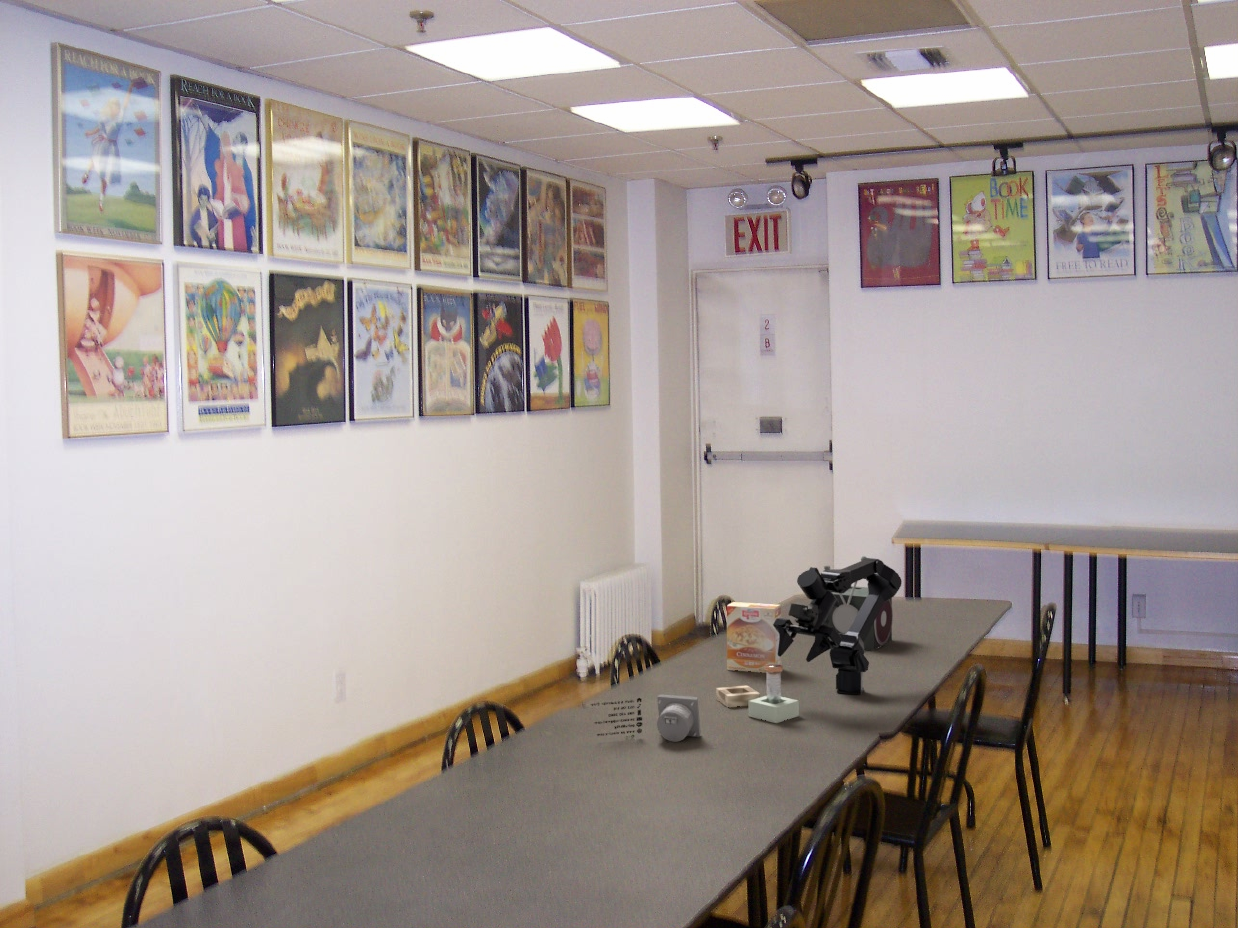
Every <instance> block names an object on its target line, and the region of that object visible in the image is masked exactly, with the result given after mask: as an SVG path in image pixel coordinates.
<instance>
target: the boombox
mask: <svg viewBox="0 0 1238 928" xmlns="http://www.w3.org/2000/svg"><path fill="white" fill-rule="evenodd" d="M866 558H868V557H867V556H864V555H863V556H862V557H860V561H863V559H866ZM823 569H824V570H831V565H829V564H824V566H823ZM863 580H866V579H865V578H864V579H863ZM858 583H859V581H857V582H854V583H853V585H851V588H850V589H849V590H847V591H846V592H845V593H834V592H832V593H833V595H834V596H835V597H838V602H839V607H833V608H832V610H831V612H830V613H829V615H828V617H827V619H828V620H829V622H828V624H824V625H827V626H833V627H834V628H835V629H836V631H837V632H838V634H839V633H841V634H846V633H847V632H848V631H849V629H850V627H851V625H852V623H853V621H854V620H855V618H856V616H857V614H858V612H859V610H860V608H861V607H862V605H863V603H864V601H865V599H866V597H867V596H868V593H869V591H868V586H867V587H864V586H857V585H858ZM892 598H893V597H892ZM892 598H891V599H889V600H887V601H886V602H885V603H884V604H883V606H882V608H881V610H880V612H879V614H878V615H877V617H876V619H875V621H874V623H873V625H872V627H871V629H870V631H869V632H868V634H867V636H866V638H865V640H864V642H863V643H864V649H865V651H866V650H867V651H875V650H877V649H879V648H881V647H882V645H883V646H884V644H885V645H886V644H888V643H890V642H892V641H893V638H892V637H893V634H892V633H893V632H892V631H893V630H892V629H893V619H894V618H893V616H894V615H893V606H892V605H893V603H892V602H893V599H892ZM880 646H881V647H880ZM878 647H879V648H878Z"/></svg>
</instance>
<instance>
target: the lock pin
mask: <svg viewBox="0 0 1238 928" xmlns="http://www.w3.org/2000/svg"><path fill="white" fill-rule="evenodd" d="M764 669H765V671H766V672H767V673H766V696H767V703H771V704H778V703H781V697H782V672H783V669H784V667H783V664H781V665H780V664H766V665H765V666H764Z"/></svg>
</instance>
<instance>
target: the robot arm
mask: <svg viewBox="0 0 1238 928" xmlns="http://www.w3.org/2000/svg"><path fill="white" fill-rule="evenodd" d="M864 578H865V579H864ZM861 580H866V581H867V588H868V591H869V593H868V596H867V597H866V599H865V601H864V603H863V605H862V607H861V608H860V610H859V612H858V614H857V616H856V618H855V620H854V621H853V623H852V625H851V627H850V629H849V631H848V632H847V633H846V634H841V633H839V634H838V632H837V631H836V629H835V628H834V627H833V626H827V625H824V624H828V622H829V620H828V619H827V617H828V615H829V613H830V612H831V610H832V608H833V607H839V602H838V597H835V596H834V595H833V593H832V592H834V593H845V592H846V591H847V590H849V589H850V588H851V586H853V585H854V583H855V582H857V581H858V582H859V581H861ZM858 582H857V583H858ZM796 583H797V584H798V586H799V588H800V589H801V590H802V592H803V594H805V596H806V598H807V599H809V600H811V601H810V602H809V604H808V605H805V604H799V603H791V604H790V608H789V611H788V616H789V617H792V618H795V619H794V622H795V623H796V624H798V625H796V624H795V625H794V624H793V622H792V621H791V620H790V618H789V619H788V618H782V617H781V618H777V619H776V620H775V622H774V624H773V626H774V627H775V629H776V630H777V631H778V633H779V647H778V656H779V657H781V658H782V656H783V655H784V654H785V652H786V651H787V650H788V649H789V648H790V647H791V645H792V644H793V642H794V641H795V640H794V638H796V636H797V634H799V635H804V636H808V637H814V642H813V644H812V646H811V648H810V650H809V652H808V654H807V655H806V658H805V661H806V663H810V662H811V661H812V660H814V659H816V658H817V657H819V656H820V655H823V653H826V652H827V651H829V659H830V662H831V667H832V668H833V669H837V673H836V675H835V690H836V694H846V695H847V694H848V695H862V693H863V691H864V687H863V686H864V685H863V682H864V681H863V680H864V679H863V673H867V671H868V670H869V667H870V661H869V660H868V659H867V657H866V656H865V652H866V650H864V643H863V642H864V640H865V638H866V636H867V634H868V632H869V631H870V629H871V627H872V625H873V623H874V621H875V619H876V617H877V615H878V614H879V612H880V610H881V608H882V606H883V604H884V603H885V602H886V601H887V600H889V599H891V598H894V597H896V594H897V593H898V591H899V590H900V589H901V587H902V578H901V577H900V575H899V573H898V572H896V571H895V570H894V569H893V568H892V567H889V566H888V565H886V564H885V563H884V562H883V560H882V559H881V560H880V559H879V558H873V557H870V558H869V557H867V558H866V559H863V561H861V560H860V561H858V562H855V563H853V564H851V565H848V566H846V567H844V568H838V569H837V568H835V569H831V568H830V570H825V569H824V570H823V571H821V573H820V571H819V569H818V567H813V566H809V569H807V570H805V571H804V572H802V573H800V574H799V575H798V576H797V580H796ZM852 584H853V585H852Z"/></svg>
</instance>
